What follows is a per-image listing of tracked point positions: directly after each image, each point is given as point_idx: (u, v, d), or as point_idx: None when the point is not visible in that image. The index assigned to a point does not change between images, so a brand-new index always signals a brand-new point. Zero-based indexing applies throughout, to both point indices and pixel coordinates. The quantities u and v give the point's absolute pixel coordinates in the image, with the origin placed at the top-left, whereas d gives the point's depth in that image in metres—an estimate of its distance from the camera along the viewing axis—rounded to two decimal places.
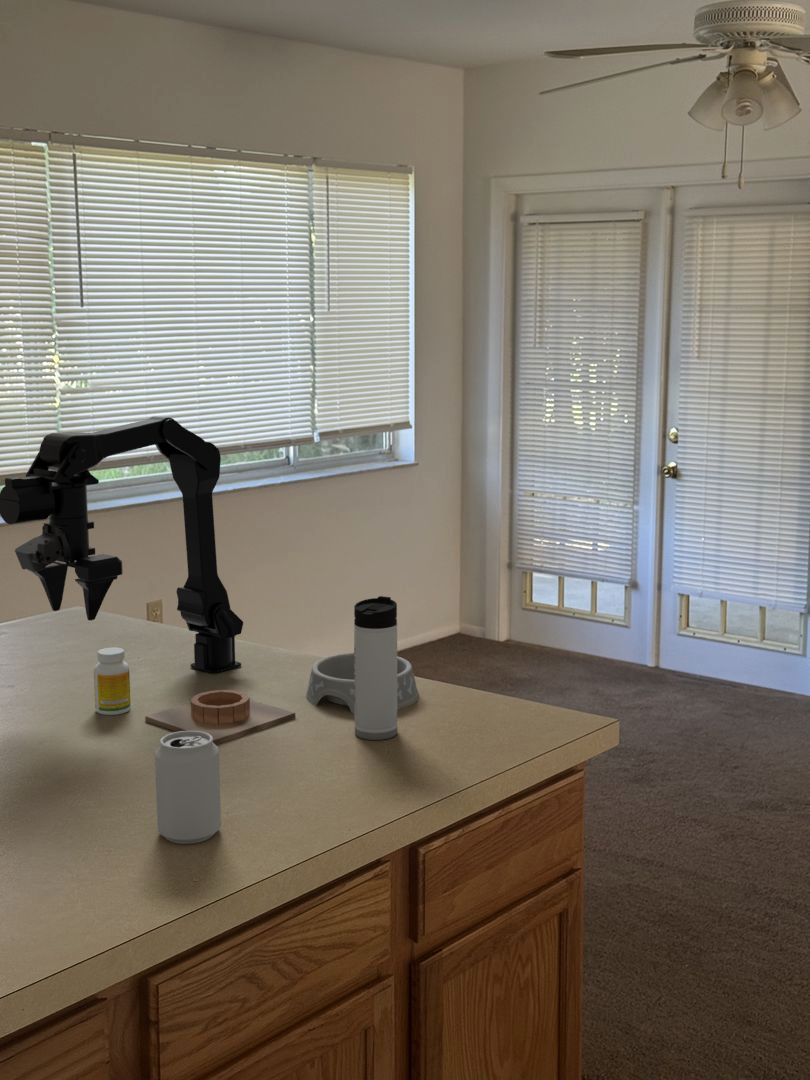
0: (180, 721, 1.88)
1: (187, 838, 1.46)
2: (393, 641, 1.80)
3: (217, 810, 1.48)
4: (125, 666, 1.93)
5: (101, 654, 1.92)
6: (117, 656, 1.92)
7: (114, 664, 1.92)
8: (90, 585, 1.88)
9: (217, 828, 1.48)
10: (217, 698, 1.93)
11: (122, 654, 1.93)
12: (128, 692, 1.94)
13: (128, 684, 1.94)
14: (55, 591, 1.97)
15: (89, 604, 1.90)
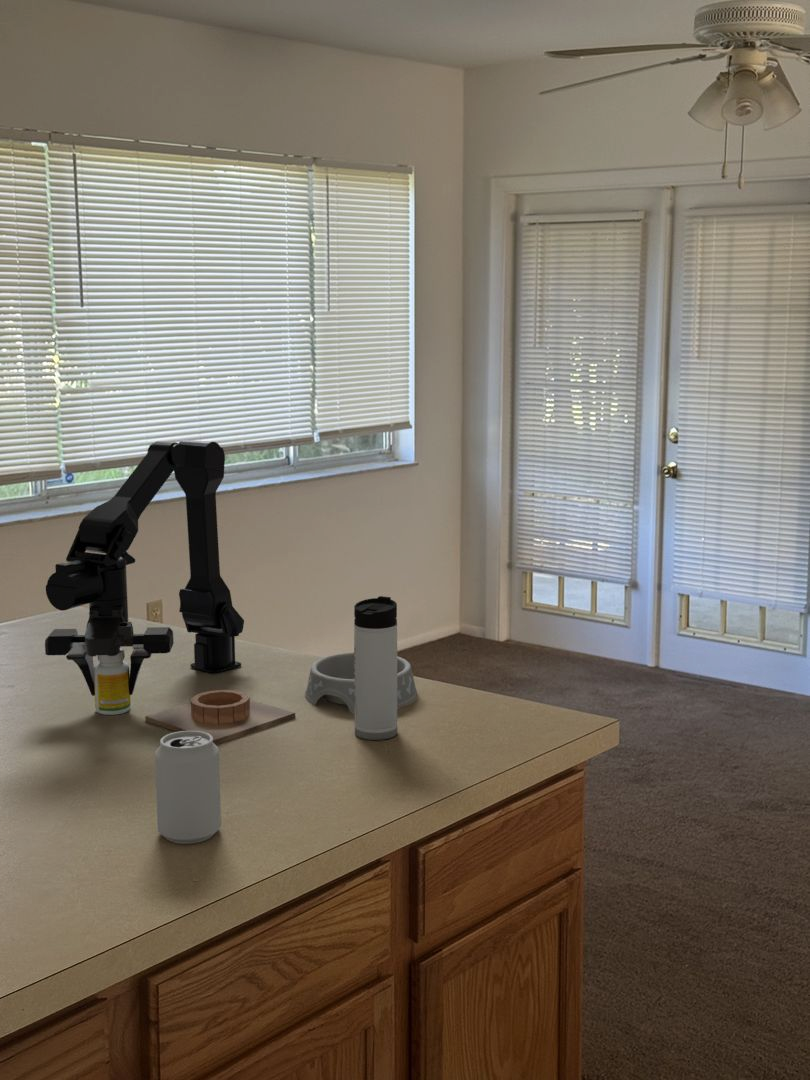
0: (180, 721, 1.88)
1: (187, 838, 1.46)
2: (393, 641, 1.80)
3: (217, 810, 1.48)
4: (125, 666, 1.93)
5: None
6: (117, 656, 1.92)
7: (114, 663, 1.92)
8: None
9: (217, 828, 1.48)
10: (217, 698, 1.93)
11: (122, 654, 1.93)
12: (128, 692, 1.94)
13: (128, 684, 1.94)
14: (92, 675, 1.94)
15: (136, 678, 1.94)
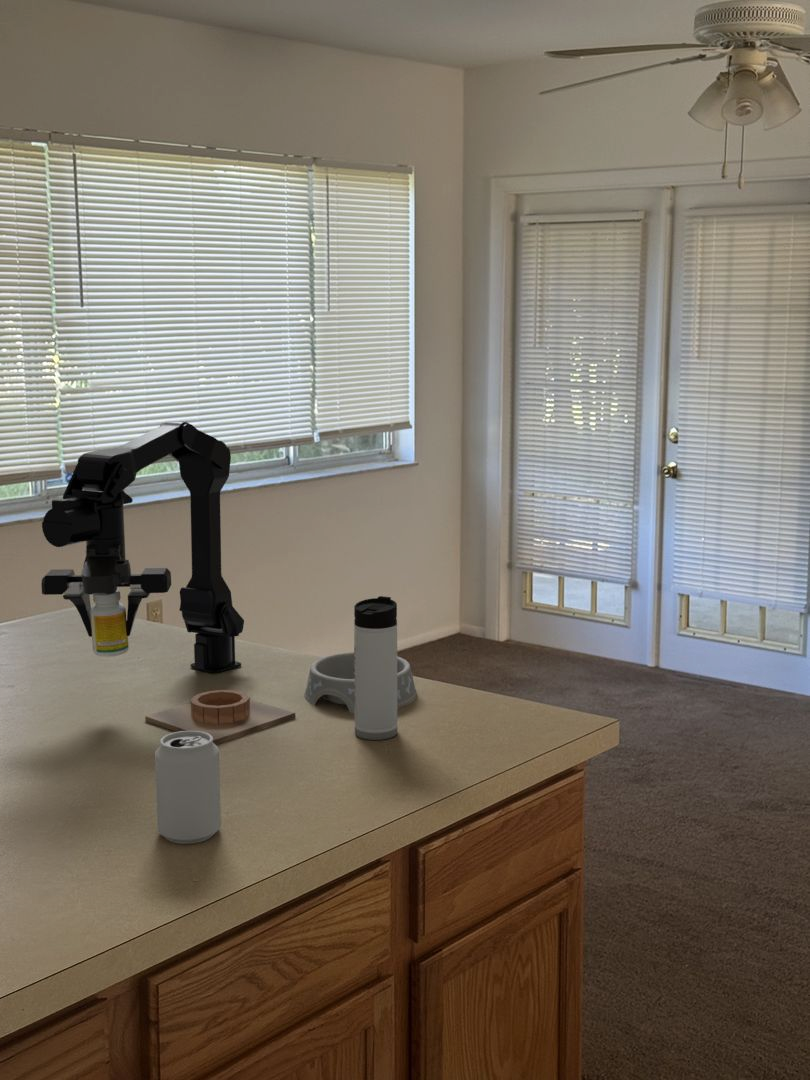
0: (180, 721, 1.88)
1: (187, 838, 1.46)
2: (393, 641, 1.80)
3: (217, 810, 1.48)
4: (121, 607, 1.91)
5: (96, 595, 1.90)
6: (113, 597, 1.90)
7: (110, 604, 1.90)
8: None
9: (217, 828, 1.48)
10: (217, 698, 1.93)
11: (118, 595, 1.91)
12: (125, 633, 1.92)
13: (125, 625, 1.92)
14: (89, 616, 1.92)
15: (133, 619, 1.92)
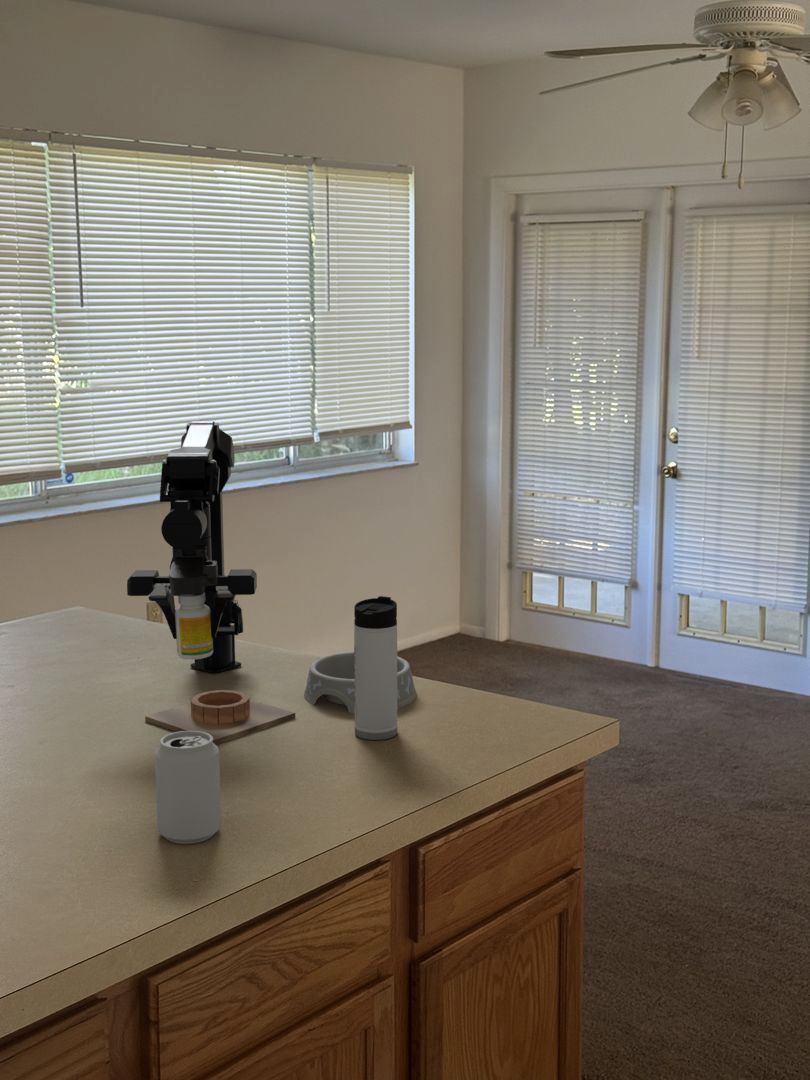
0: (180, 721, 1.88)
1: (187, 838, 1.46)
2: (393, 641, 1.80)
3: (217, 810, 1.48)
4: (207, 609, 1.88)
5: (182, 597, 1.86)
6: (199, 599, 1.86)
7: (195, 606, 1.87)
8: None
9: (217, 828, 1.48)
10: (217, 698, 1.93)
11: (203, 596, 1.87)
12: (210, 636, 1.89)
13: (210, 627, 1.88)
14: (174, 618, 1.89)
15: (219, 621, 1.88)
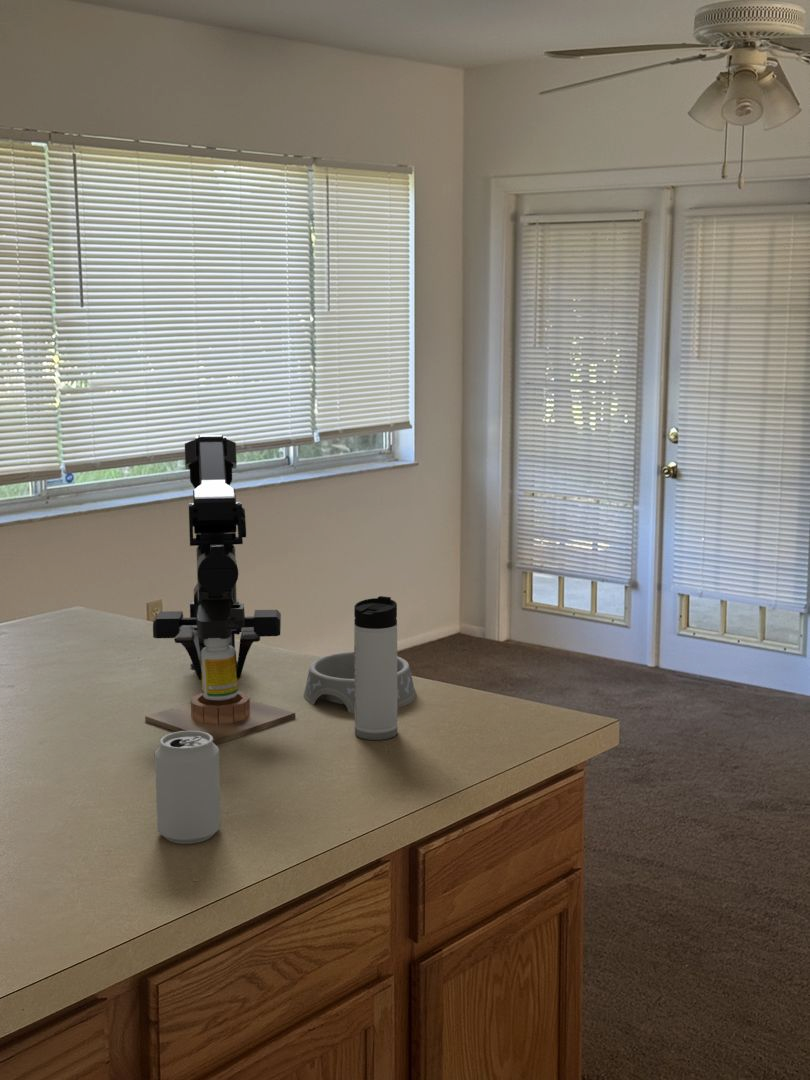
0: (180, 721, 1.88)
1: (187, 838, 1.46)
2: (393, 641, 1.80)
3: (217, 810, 1.48)
4: (232, 650, 1.88)
5: (208, 638, 1.87)
6: (224, 640, 1.87)
7: (221, 647, 1.87)
8: None
9: (217, 828, 1.48)
10: None
11: (229, 637, 1.88)
12: (236, 676, 1.89)
13: (236, 668, 1.89)
14: (199, 659, 1.89)
15: (244, 662, 1.89)
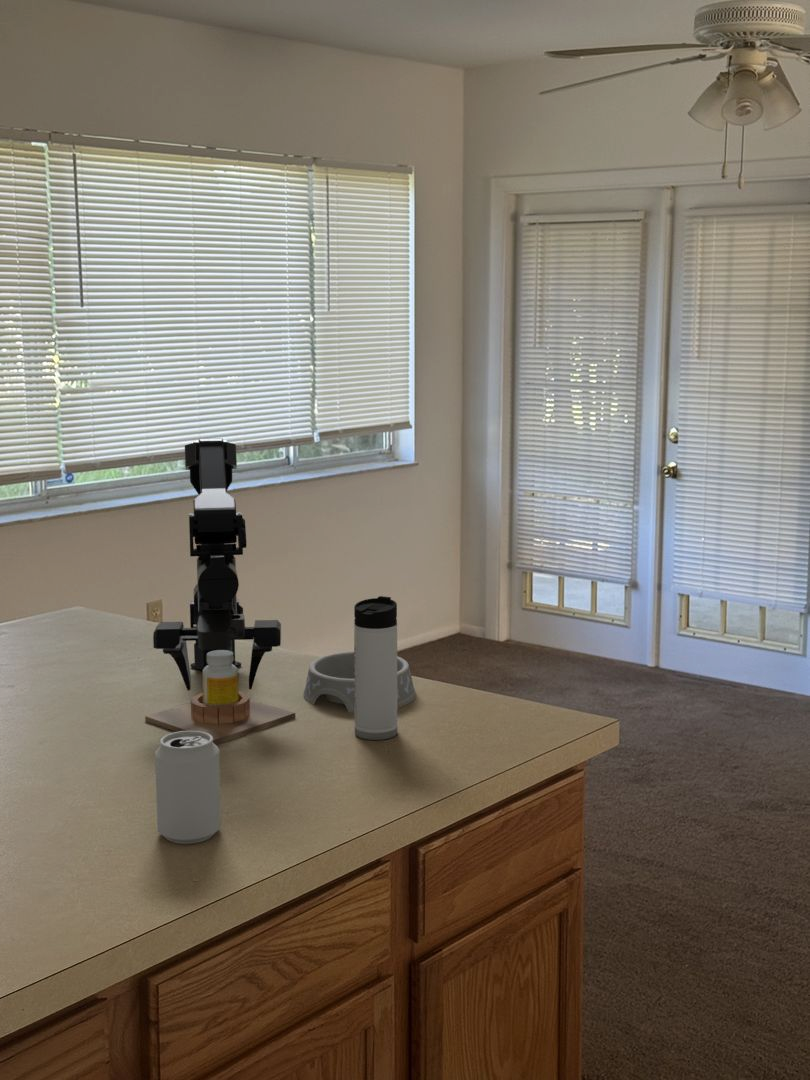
0: (180, 721, 1.88)
1: (187, 838, 1.46)
2: (393, 641, 1.80)
3: (217, 810, 1.48)
4: (234, 669, 1.89)
5: (211, 657, 1.87)
6: (227, 659, 1.88)
7: (224, 666, 1.88)
8: None
9: (217, 828, 1.48)
10: None
11: (232, 657, 1.88)
12: (237, 696, 1.90)
13: (237, 687, 1.90)
14: (188, 670, 1.89)
15: None
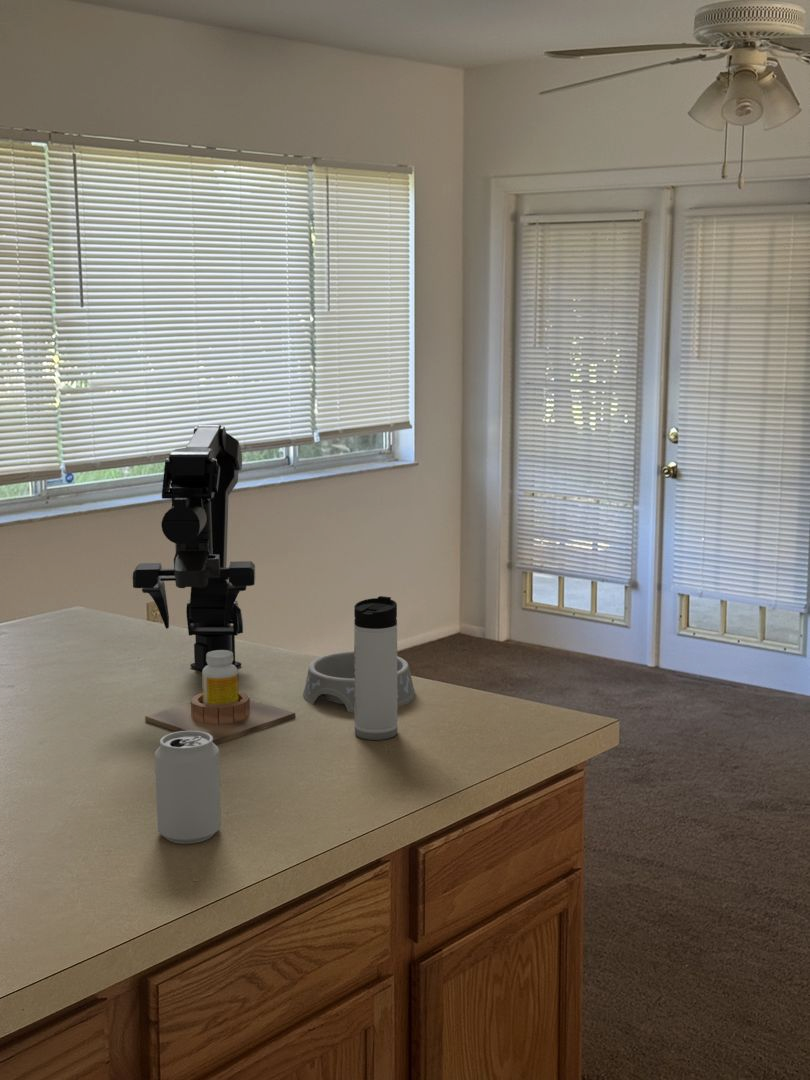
0: (180, 721, 1.88)
1: (187, 838, 1.46)
2: (393, 641, 1.80)
3: (217, 810, 1.48)
4: (234, 669, 1.89)
5: (210, 657, 1.87)
6: (227, 659, 1.88)
7: (223, 666, 1.88)
8: None
9: (217, 828, 1.48)
10: None
11: (231, 657, 1.88)
12: (237, 695, 1.90)
13: (237, 687, 1.89)
14: (166, 609, 1.98)
15: (231, 611, 1.98)
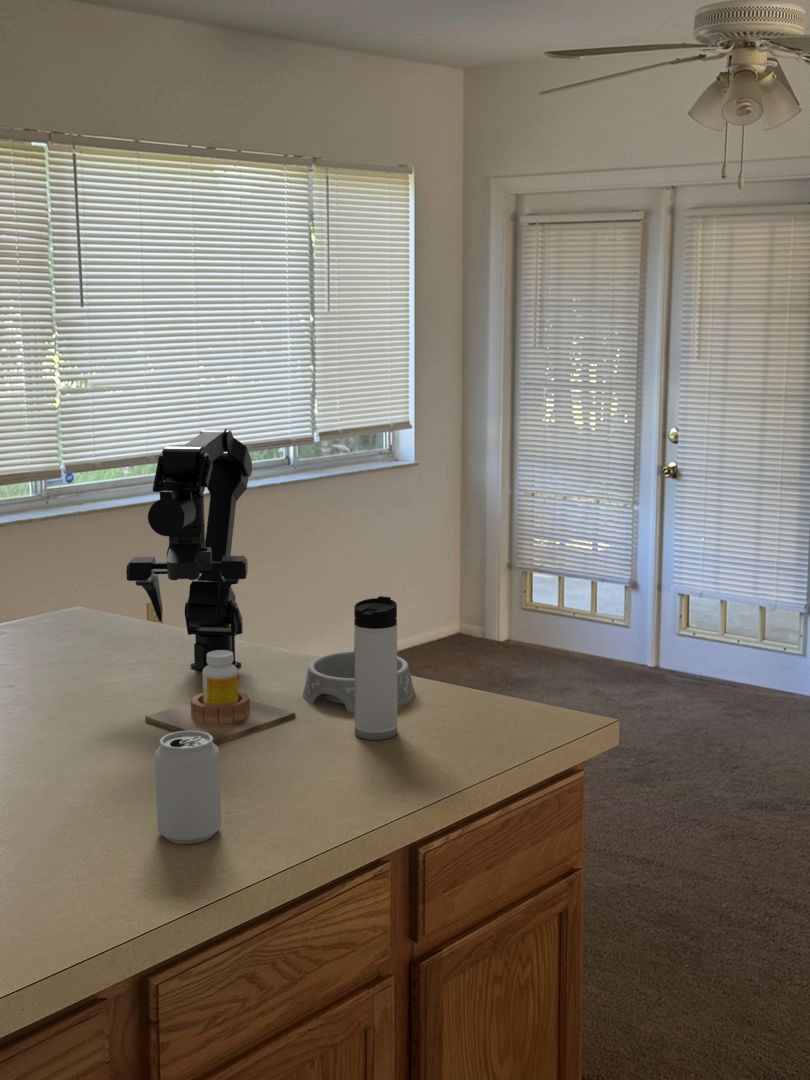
0: (180, 721, 1.88)
1: (187, 838, 1.46)
2: (393, 641, 1.80)
3: (217, 810, 1.48)
4: (234, 669, 1.89)
5: (211, 657, 1.87)
6: (227, 659, 1.87)
7: (223, 667, 1.88)
8: None
9: (217, 828, 1.48)
10: None
11: (232, 657, 1.88)
12: (237, 696, 1.90)
13: (237, 687, 1.89)
14: (160, 602, 2.01)
15: (223, 604, 2.01)
